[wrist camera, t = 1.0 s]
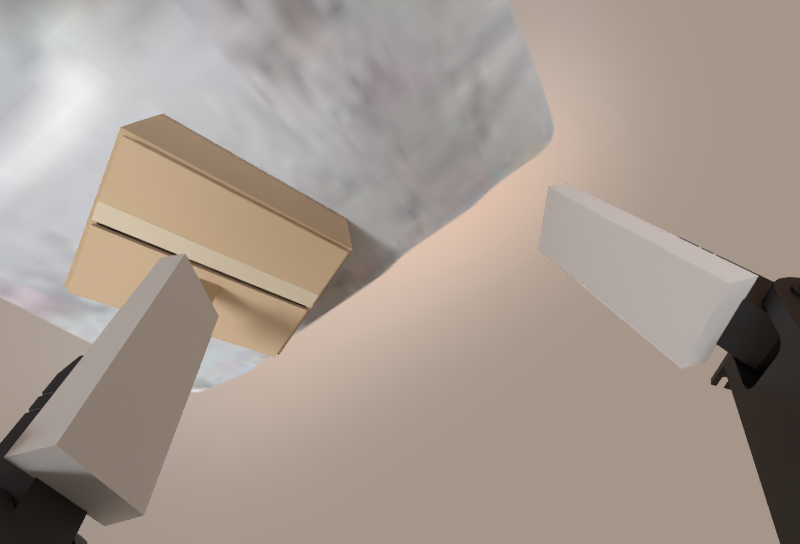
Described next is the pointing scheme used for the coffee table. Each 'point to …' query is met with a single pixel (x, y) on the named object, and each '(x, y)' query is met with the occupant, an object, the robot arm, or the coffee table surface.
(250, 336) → the flap outer
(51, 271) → the coffee table surface
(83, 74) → the coffee table surface
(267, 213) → the carton
